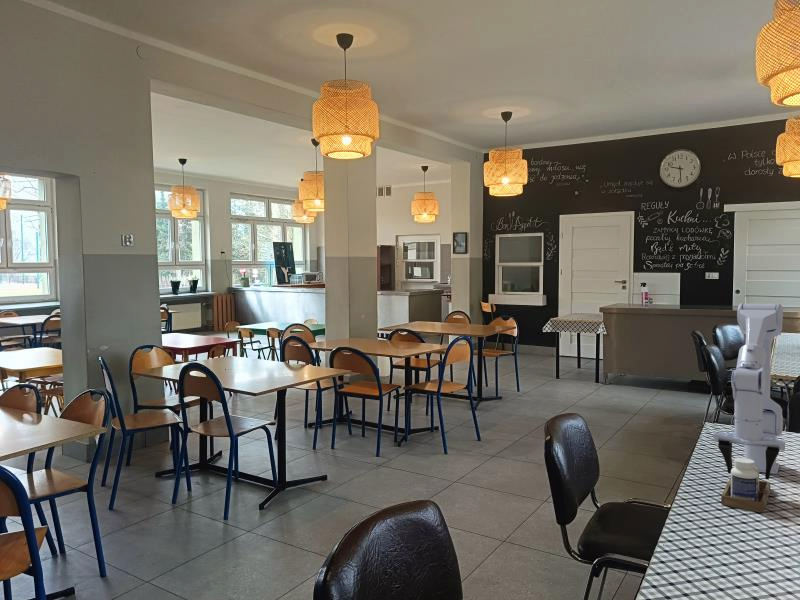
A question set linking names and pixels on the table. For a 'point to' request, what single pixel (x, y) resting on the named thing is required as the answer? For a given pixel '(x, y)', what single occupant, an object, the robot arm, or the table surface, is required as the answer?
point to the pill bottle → (744, 479)
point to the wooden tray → (744, 502)
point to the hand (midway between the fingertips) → (748, 475)
